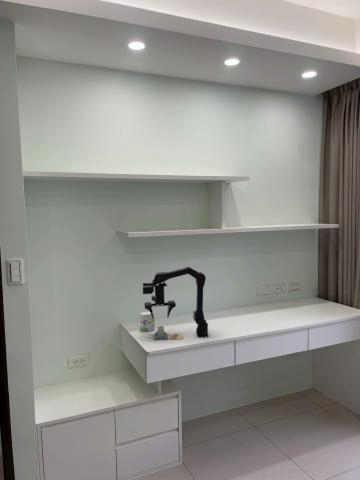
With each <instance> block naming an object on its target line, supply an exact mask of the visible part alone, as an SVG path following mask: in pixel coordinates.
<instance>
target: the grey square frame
mask: <svg viewBox="0 0 360 480" xmlns="http://www.w3.org/2000/svg"><path fill="white" fill-rule="evenodd" d="M153 339H154V341H169V339H168V333H166V331H164V336H157V331H155V333H154V334H153Z"/></svg>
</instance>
